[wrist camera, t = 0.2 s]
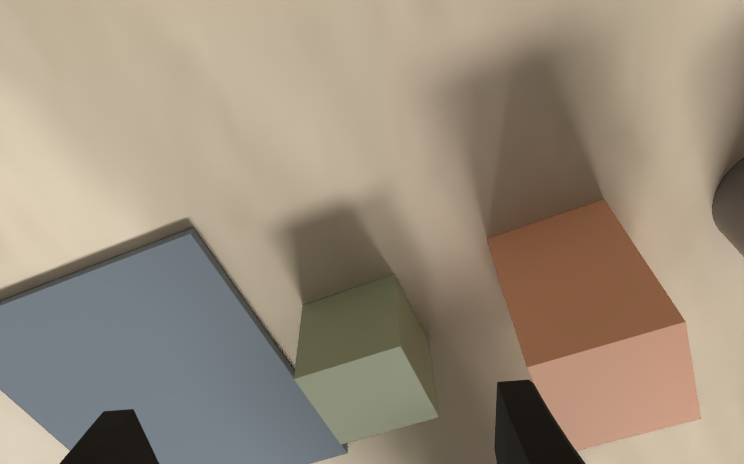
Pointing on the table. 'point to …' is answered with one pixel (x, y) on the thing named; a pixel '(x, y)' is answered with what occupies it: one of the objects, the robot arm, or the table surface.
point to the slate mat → (159, 360)
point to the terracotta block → (595, 327)
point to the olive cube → (365, 361)
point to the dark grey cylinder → (731, 206)
